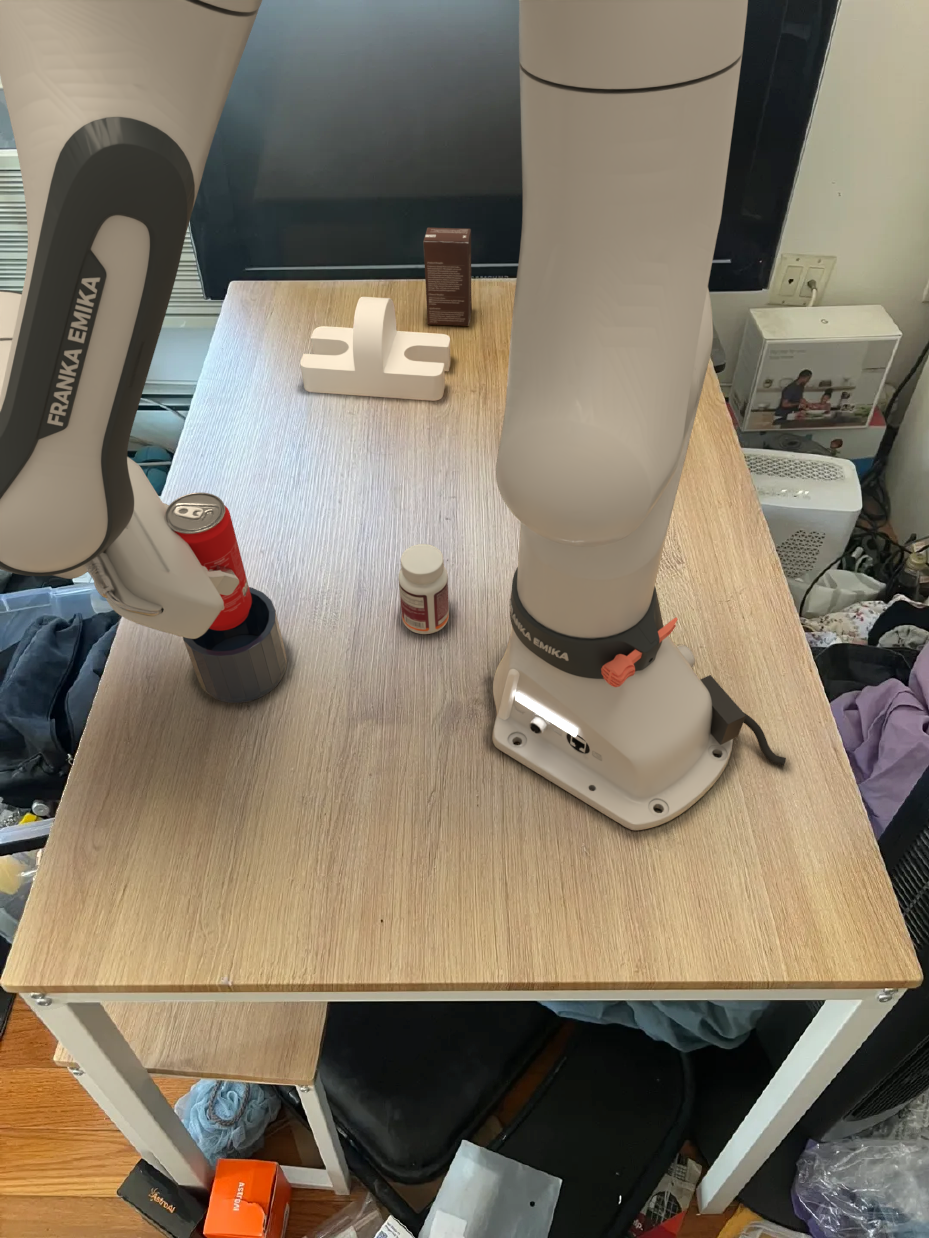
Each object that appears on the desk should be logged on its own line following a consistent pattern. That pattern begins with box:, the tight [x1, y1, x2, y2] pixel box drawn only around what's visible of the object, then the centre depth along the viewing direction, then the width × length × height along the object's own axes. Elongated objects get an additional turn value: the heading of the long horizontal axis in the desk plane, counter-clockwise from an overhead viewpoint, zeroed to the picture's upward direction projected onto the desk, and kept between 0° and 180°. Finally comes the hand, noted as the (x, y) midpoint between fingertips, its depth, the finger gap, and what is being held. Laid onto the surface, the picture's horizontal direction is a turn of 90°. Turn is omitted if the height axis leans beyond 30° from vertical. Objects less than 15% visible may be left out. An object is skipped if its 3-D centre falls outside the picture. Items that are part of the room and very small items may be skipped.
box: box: [422, 227, 473, 327], centre depth 123 cm, size 6×4×12 cm
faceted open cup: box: [182, 586, 288, 704], centre depth 84 cm, size 8×8×7 cm
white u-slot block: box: [299, 296, 451, 402], centre depth 115 cm, size 10×18×10 cm, turn 83°
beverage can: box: [165, 492, 252, 631], centre depth 76 cm, size 5×5×12 cm
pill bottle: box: [397, 543, 450, 635], centre depth 88 cm, size 5×5×8 cm
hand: (217, 559), depth 76 cm, fingers closed on beverage can, 5 cm apart
